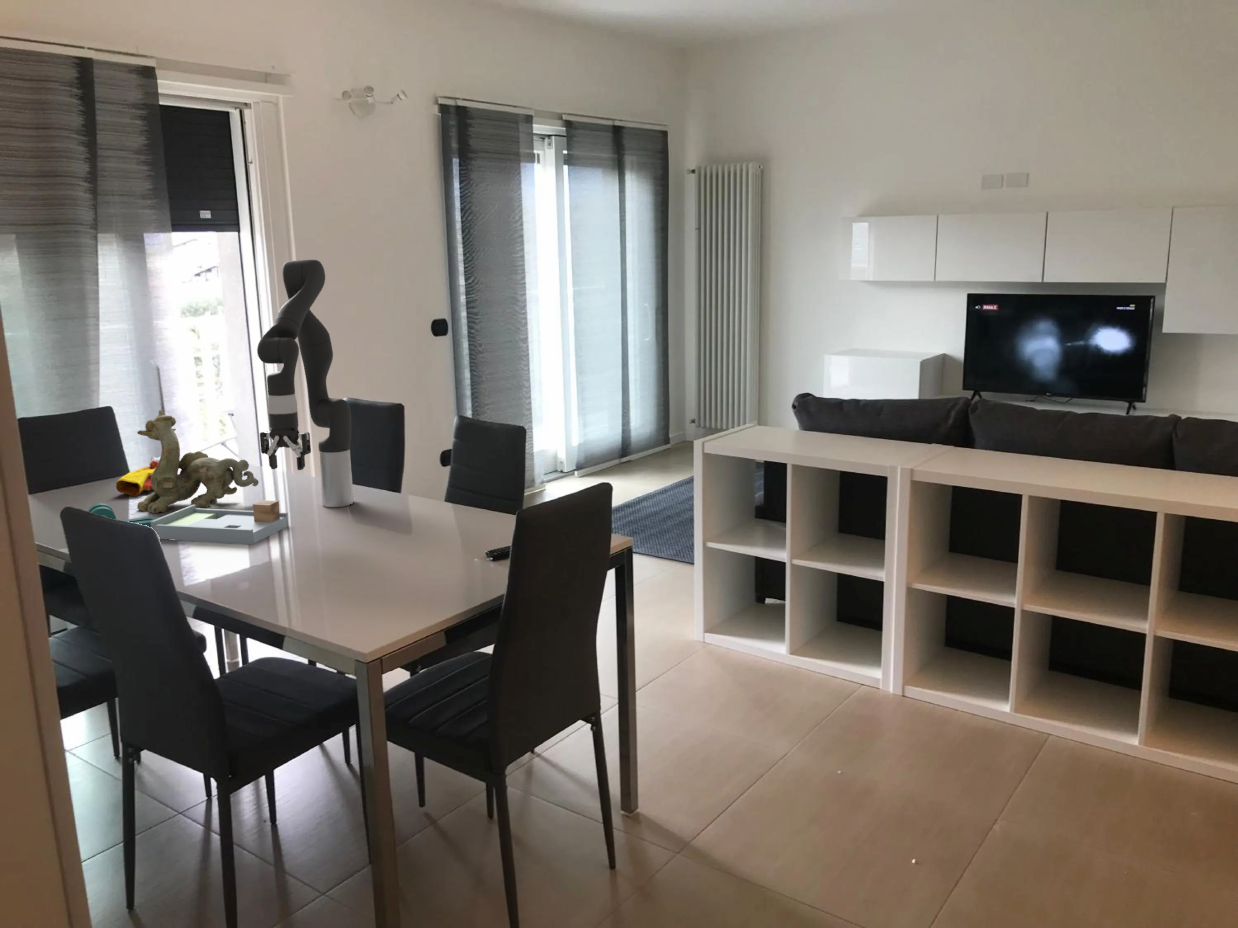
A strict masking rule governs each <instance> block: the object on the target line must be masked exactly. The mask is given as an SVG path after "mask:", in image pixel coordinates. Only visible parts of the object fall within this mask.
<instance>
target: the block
mask: <svg viewBox="0 0 1238 928" xmlns="http://www.w3.org/2000/svg"><path fill="white" fill-rule="evenodd" d="M252 509H253V510H252V511H253V513H254V522H270V523H271V522H273V521H275V520H277V519H279V518H280V513H279V512H280V501H279V500H269V499H268V500H267V499H266V500H265V499H264V500H263V499H262V500H260V501H257V502H255V503H253V504H252Z"/></svg>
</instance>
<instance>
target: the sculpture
mask: <svg viewBox="0 0 1238 928" xmlns="http://www.w3.org/2000/svg"><path fill="white" fill-rule="evenodd" d="M176 423H177V421H176V418H175V417H173V416H172V415H168V414H167V415H166V414H165V412H164V411H163V410H161V409H160V410H158V415H157V416H156V417H154V418H153V419H149V420H147V421H146V423H145V426H144V427H145V430H138V431H137V434H138V435H141V436H143V437H145V436H146V437H147V438H149V439H150V440H154V441H160V445H161V454H160V456H161V457H160V456H159V457H160V460H159V463H158V465H157V467H156V469H155V470H154V471H153V473H152V476H151V487H152V489H151V490H152V491H153V492H152V493H151V494H149V495H148V496H146V497H145V498H144V499H143V500H141V501H138V503H137V506H136V507H137V510H139V511H142V512H149V513H151V514H159V512H161V513H163V512H167V511H168V506H171V505H173V504H176V503H177V502H183V501H186V500H189V499H190V498H192V497H193V496H194V495H195V494H196V493H197V492H198V490H199V488H200V486H201V484H202V485H203V486H204V487H205V488H206V492H205V493H201V494H199V495H197V497H194V498H192V499H191V500H190V506H191V505H196V508H203V509H208V508H209V507H210V506H211V504H213V503H215V502H217V501H218V500H220V499H222V498H224V497H225V495H226V496H228V495H230V496H231V495H234V494H236V493H237V490H238V487H240V488H246V487H249V486H251V485H252V486H253V487H257V486H258V485H259V483H260V481H259V480H258V479H257V478H256V477H255V476H254V473H253V472H252V471H250V470H249V467H250V464H249V462H248V461H247V460H246V459H240V460H239V461H238V460H237V459H235V458H230V457H228V458H223V459H218V458H215V457H209V456H208V454H206V453H203V452H202V451H200V450H198V451H197V450H196V452H188V453H185V454H184V455H183V456H182V457H181V449H180V442H179V438H178V437H177V434H176V432H175V431H176V430H177V429H176V428H175V427H174V426H175V425H176ZM172 427H174V428H172ZM179 469H180V471H179ZM245 476H246V479H243V477H245ZM233 482H234V484H235V486H234V487H231V486H230V485H231V484H232V483H233ZM237 486H238V487H237Z"/></svg>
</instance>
